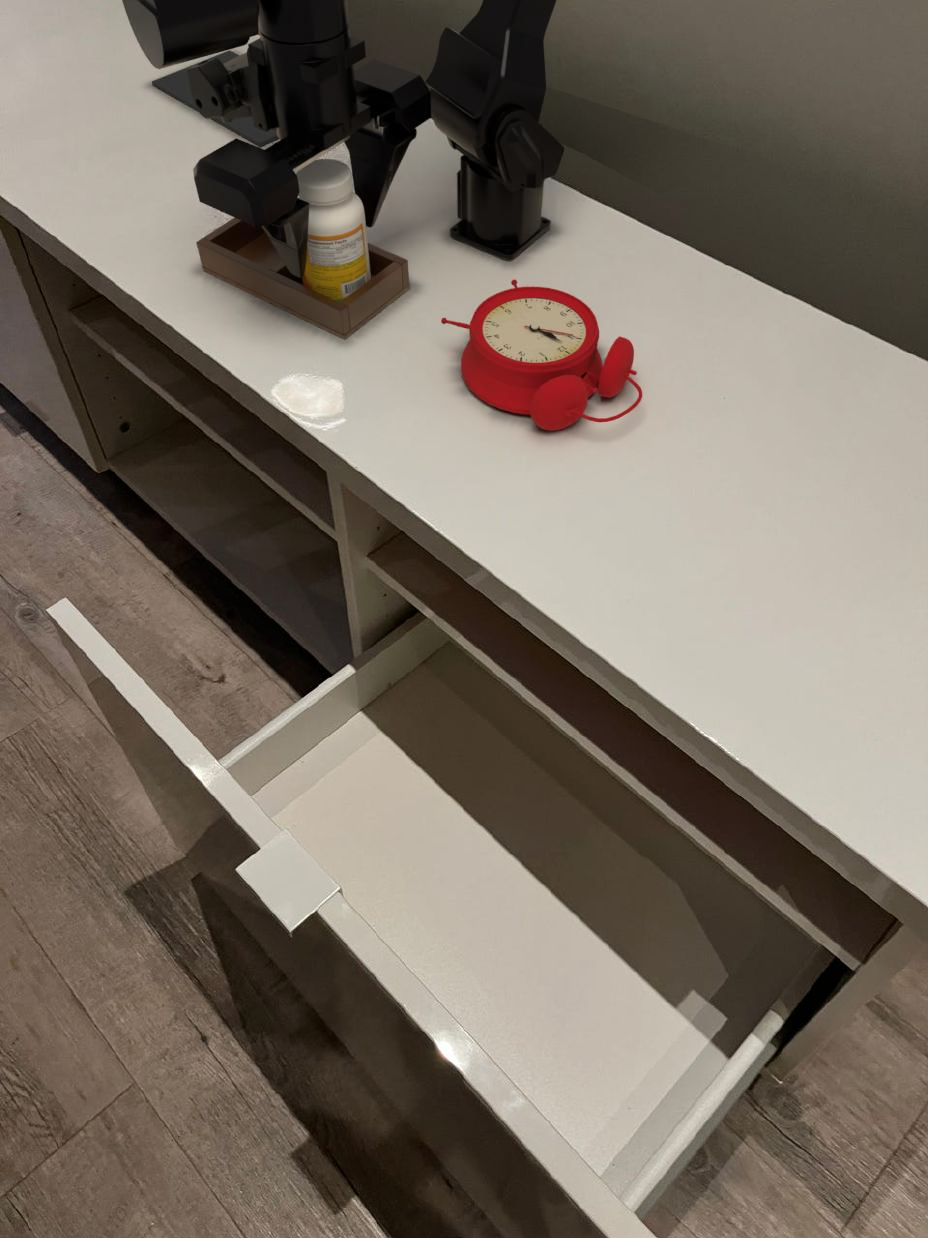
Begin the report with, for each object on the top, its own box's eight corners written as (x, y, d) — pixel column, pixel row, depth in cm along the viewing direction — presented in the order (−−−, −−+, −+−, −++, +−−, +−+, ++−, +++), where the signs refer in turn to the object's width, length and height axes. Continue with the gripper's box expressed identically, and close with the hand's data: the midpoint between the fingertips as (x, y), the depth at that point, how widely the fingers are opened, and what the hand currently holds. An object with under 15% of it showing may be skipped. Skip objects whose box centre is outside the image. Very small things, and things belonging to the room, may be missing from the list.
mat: (339, 110, 92) (339, 106, 92) (260, 147, 88) (259, 142, 88) (230, 53, 100) (229, 49, 99) (152, 85, 95) (151, 81, 95)
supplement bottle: (313, 268, 76) (295, 150, 68) (378, 273, 75) (367, 155, 67) (297, 308, 73) (276, 189, 65) (364, 314, 72) (351, 194, 64)
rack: (270, 226, 80) (265, 197, 78) (409, 288, 75) (408, 259, 73) (203, 270, 76) (195, 241, 74) (344, 339, 71) (340, 310, 69)
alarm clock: (524, 262, 70) (679, 311, 61) (532, 337, 75) (679, 393, 66) (420, 318, 66) (570, 380, 57) (435, 394, 71) (577, 463, 62)
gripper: (307, -51, 65) (333, 165, 78) (104, 44, 57) (170, 271, 69) (432, -13, 62) (438, 208, 74) (234, 95, 53) (279, 325, 65)
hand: (333, 249), depth 71 cm, fingers open, 8 cm apart
